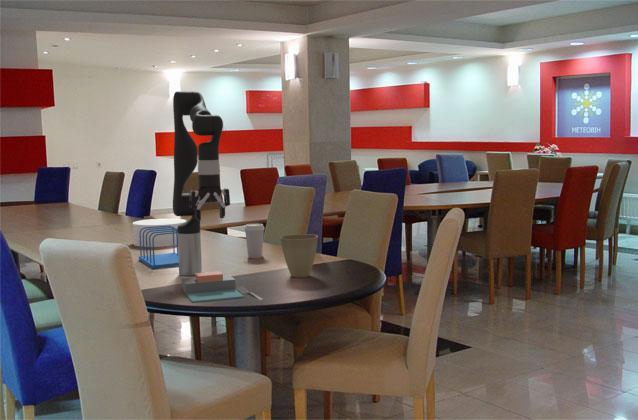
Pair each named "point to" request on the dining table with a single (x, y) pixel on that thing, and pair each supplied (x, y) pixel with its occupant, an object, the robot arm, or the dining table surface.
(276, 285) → the dining table surface
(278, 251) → the dining table surface
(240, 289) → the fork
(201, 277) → the tile
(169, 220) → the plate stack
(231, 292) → the mat
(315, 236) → the plant pot
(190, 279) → the panel
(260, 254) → the coffee cup
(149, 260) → the file sorter
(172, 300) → the dining table surface
